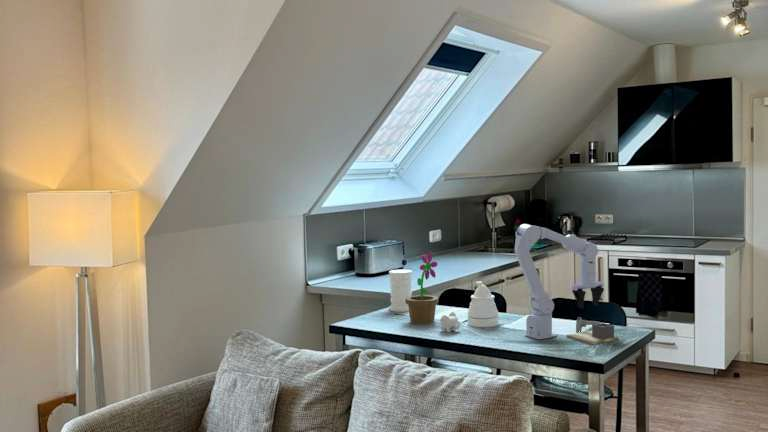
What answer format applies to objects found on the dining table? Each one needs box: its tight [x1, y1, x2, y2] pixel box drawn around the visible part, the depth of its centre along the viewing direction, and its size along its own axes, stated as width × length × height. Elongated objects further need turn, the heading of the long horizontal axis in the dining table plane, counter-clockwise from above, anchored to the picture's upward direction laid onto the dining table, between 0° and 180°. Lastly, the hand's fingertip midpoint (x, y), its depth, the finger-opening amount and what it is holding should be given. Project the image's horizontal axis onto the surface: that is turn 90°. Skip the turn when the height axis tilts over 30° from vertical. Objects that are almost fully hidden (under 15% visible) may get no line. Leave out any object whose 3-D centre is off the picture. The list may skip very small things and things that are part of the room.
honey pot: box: [467, 281, 499, 328], centre depth 311 cm, size 13×13×18 cm
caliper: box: [575, 316, 601, 333], centre depth 298 cm, size 21×1×6 cm, turn 140°
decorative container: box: [388, 269, 413, 313], centre depth 346 cm, size 12×12×18 cm
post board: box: [566, 326, 620, 345], centre depth 281 cm, size 14×13×5 cm
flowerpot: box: [405, 251, 440, 325], centre depth 318 cm, size 14×14×30 cm
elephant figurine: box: [439, 311, 463, 333], centre depth 299 cm, size 8×10×7 cm
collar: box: [591, 322, 615, 339], centre depth 279 cm, size 6×6×4 cm
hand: (588, 306), depth 289 cm, fingers open, 7 cm apart
